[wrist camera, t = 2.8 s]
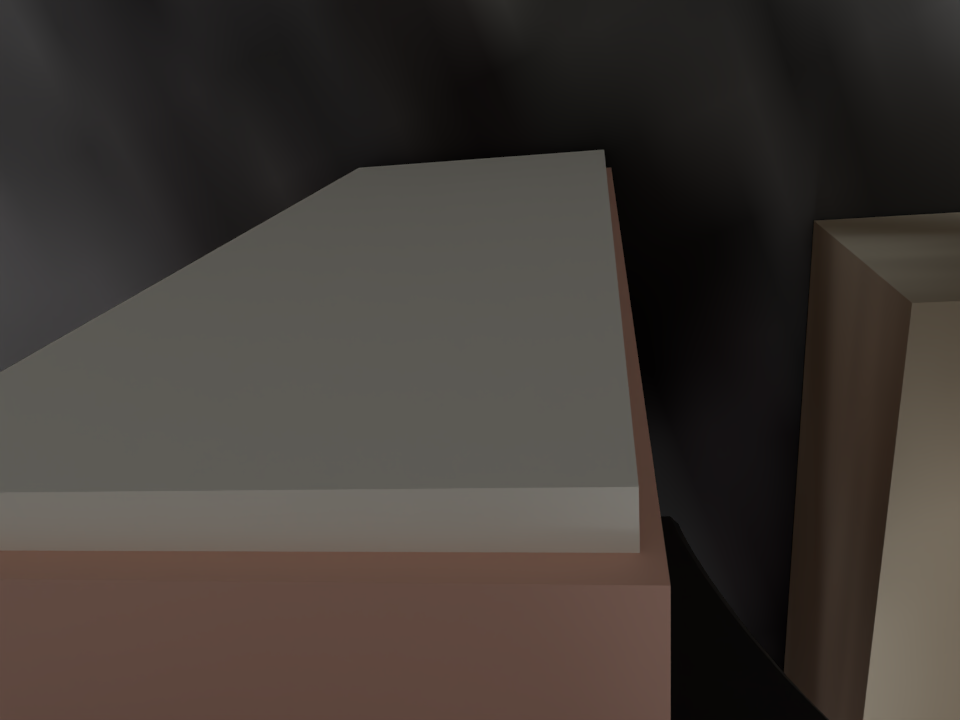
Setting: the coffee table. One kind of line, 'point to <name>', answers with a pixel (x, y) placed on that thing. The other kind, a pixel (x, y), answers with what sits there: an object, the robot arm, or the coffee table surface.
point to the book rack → (879, 473)
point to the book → (348, 470)
